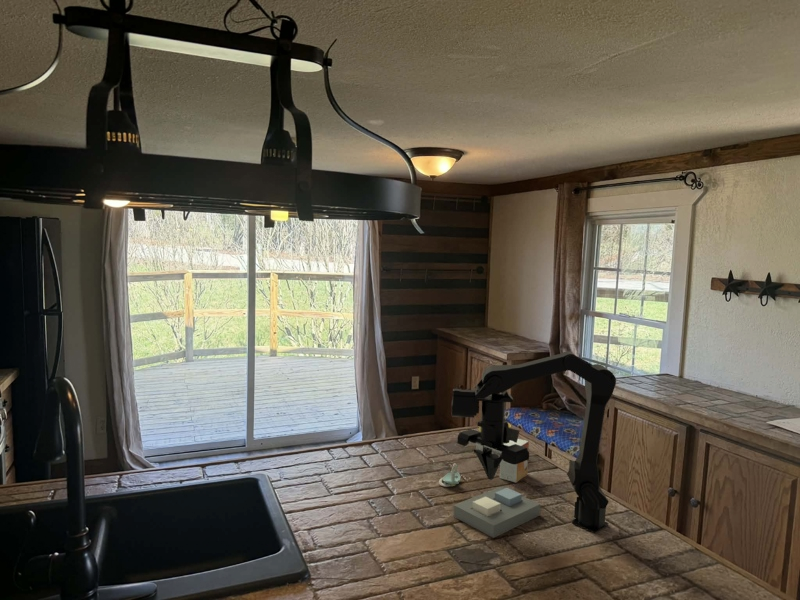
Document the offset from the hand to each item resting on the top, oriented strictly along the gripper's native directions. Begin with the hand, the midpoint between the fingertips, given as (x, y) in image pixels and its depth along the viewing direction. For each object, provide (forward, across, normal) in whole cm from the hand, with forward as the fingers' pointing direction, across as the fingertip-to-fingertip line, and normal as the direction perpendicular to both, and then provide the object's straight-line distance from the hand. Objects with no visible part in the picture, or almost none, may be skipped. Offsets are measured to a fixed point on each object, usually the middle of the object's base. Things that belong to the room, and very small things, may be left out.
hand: (490, 479), depth 137 cm
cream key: (+8, 0, +2) cm, 8 cm away
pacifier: (+10, +21, -7) cm, 24 cm away
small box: (+10, +12, -26) cm, 30 cm away
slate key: (+8, -1, -7) cm, 10 cm away
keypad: (+10, 0, -2) cm, 10 cm away
